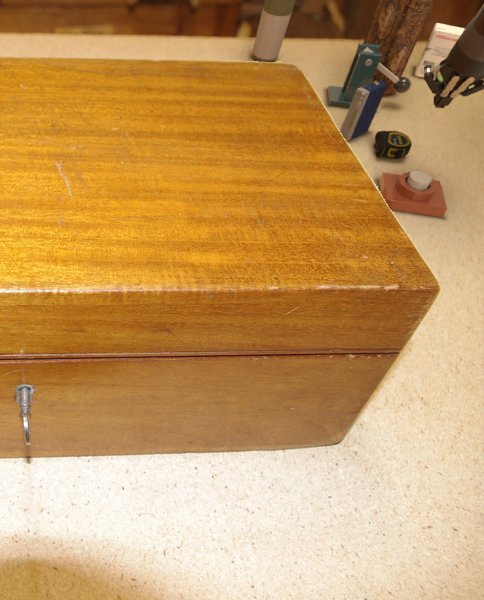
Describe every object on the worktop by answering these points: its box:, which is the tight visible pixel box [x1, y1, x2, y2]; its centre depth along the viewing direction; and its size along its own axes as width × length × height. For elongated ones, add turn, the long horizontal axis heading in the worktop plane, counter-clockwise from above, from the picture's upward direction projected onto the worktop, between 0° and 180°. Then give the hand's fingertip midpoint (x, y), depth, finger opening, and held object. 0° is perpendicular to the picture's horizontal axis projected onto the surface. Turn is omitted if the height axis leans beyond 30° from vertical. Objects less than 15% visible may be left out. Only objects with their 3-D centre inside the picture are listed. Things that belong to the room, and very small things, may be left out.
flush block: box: [378, 171, 448, 218], centre depth 138 cm, size 11×9×4 cm
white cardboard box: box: [414, 22, 465, 83], centre depth 168 cm, size 9×5×12 cm, turn 64°
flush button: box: [406, 170, 433, 190], centre depth 136 cm, size 4×4×2 cm
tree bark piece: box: [362, 0, 436, 97], centre depth 162 cm, size 16×6×25 cm, turn 175°
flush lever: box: [358, 47, 412, 94], centre depth 157 cm, size 14×4×4 cm, turn 77°
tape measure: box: [374, 130, 412, 160], centre depth 149 cm, size 7×7×4 cm
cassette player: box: [339, 80, 388, 142], centre depth 150 cm, size 7×2×12 cm, turn 123°
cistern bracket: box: [327, 42, 382, 109], centre depth 159 cm, size 10×7×13 cm
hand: (438, 104), depth 137 cm, fingers closed
